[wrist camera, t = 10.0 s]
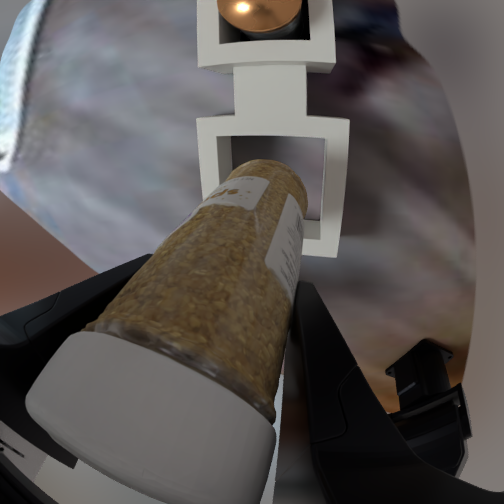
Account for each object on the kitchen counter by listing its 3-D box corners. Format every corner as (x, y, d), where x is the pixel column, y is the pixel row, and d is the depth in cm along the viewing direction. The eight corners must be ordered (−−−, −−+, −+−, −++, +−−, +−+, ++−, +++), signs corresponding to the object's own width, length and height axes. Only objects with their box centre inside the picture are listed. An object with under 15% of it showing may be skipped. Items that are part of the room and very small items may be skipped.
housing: (334, 236, 20) (337, 270, 16) (221, 228, 21) (200, 257, 18) (338, -12, 10) (343, -40, 6) (209, -6, 12) (182, -28, 8)
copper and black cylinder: (306, 51, 13) (303, 28, 9) (244, 52, 14) (217, 33, 9) (303, 1, 11) (298, -34, 7) (243, 4, 12) (216, -27, 7)
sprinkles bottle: (239, 144, 13) (-28, 362, 2) (323, 180, 13) (311, 532, 2) (214, 219, 15) (57, 441, 4) (288, 250, 15) (218, 517, 4)
